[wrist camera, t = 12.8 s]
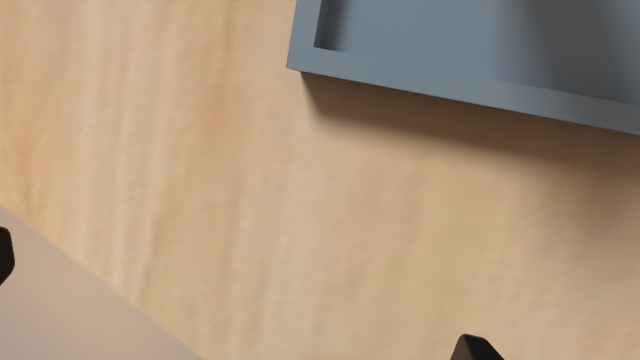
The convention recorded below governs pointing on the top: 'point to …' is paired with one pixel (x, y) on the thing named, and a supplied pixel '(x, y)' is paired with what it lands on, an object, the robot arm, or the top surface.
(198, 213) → the top surface
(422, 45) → the tray
